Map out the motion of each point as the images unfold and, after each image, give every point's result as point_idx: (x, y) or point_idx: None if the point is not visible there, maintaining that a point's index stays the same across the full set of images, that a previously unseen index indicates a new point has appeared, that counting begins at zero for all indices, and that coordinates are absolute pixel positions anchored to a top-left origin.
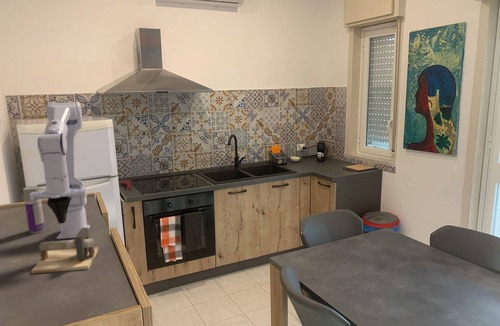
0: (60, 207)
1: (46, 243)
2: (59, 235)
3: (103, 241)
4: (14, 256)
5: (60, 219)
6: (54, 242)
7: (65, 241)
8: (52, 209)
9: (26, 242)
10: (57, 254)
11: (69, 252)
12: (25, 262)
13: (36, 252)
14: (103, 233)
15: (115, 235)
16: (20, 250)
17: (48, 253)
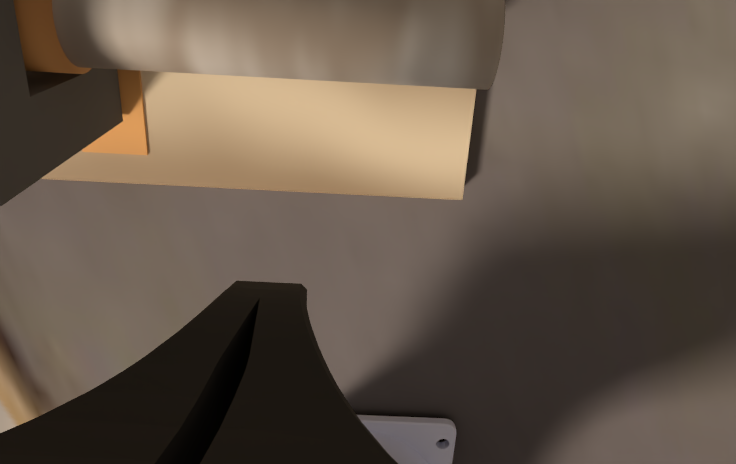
0: (122, 433)
1: (425, 11)
2: (442, 459)
3: (59, 312)
4: (725, 187)
5: (255, 305)
6: (329, 12)
7: (194, 8)
8: (342, 418)
9: (669, 413)
10: (356, 91)
11: (257, 111)
12: (617, 42)
13: (561, 223)
14: None
15: (2, 398)
16: (693, 287)
17: (445, 134)
